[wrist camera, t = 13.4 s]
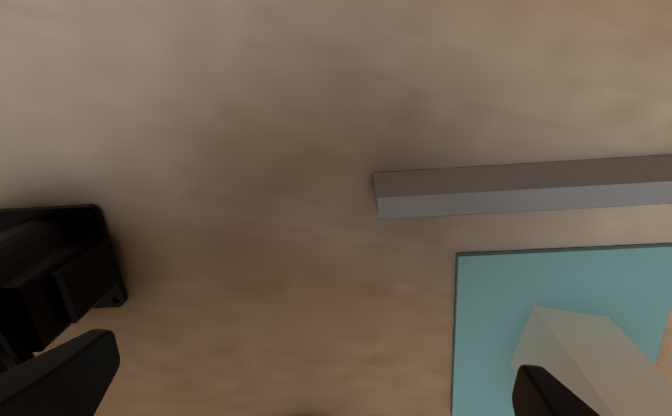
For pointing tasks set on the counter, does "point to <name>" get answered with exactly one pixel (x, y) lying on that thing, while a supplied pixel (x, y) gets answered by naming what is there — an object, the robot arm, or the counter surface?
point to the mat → (553, 292)
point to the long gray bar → (524, 187)
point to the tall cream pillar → (594, 362)
